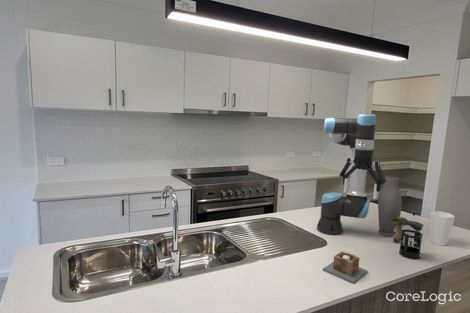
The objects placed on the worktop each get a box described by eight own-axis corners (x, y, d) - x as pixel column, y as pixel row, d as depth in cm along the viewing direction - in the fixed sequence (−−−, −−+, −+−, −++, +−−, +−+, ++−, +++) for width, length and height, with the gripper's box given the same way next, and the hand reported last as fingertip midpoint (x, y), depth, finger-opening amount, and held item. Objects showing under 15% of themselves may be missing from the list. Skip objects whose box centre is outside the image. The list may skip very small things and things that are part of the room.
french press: (413, 261, 142) (418, 216, 139) (394, 253, 150) (398, 210, 147) (425, 256, 148) (430, 212, 145) (407, 249, 156) (411, 207, 153)
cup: (452, 243, 165) (456, 214, 162) (449, 249, 157) (453, 218, 155) (429, 237, 172) (432, 209, 170) (425, 242, 165) (428, 213, 163)
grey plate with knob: (322, 270, 131) (323, 255, 130) (338, 260, 140) (339, 247, 139) (353, 283, 121) (354, 267, 120) (367, 272, 130) (368, 257, 129)
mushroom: (405, 247, 158) (408, 220, 156) (387, 243, 162) (390, 217, 160) (406, 241, 166) (408, 216, 164) (389, 237, 170) (391, 213, 168)
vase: (393, 239, 167) (399, 180, 163) (370, 233, 177) (376, 176, 173) (401, 234, 176) (407, 178, 172) (379, 228, 186) (385, 174, 182)
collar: (333, 268, 130) (333, 256, 130) (341, 263, 136) (342, 251, 135) (350, 276, 125) (351, 262, 124) (358, 269, 130) (359, 257, 129)
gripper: (334, 146, 136) (330, 190, 139) (390, 152, 118) (385, 202, 121) (341, 145, 141) (338, 188, 144) (397, 151, 123) (392, 199, 126)
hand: (360, 195), depth 133 cm, fingers open, 13 cm apart
